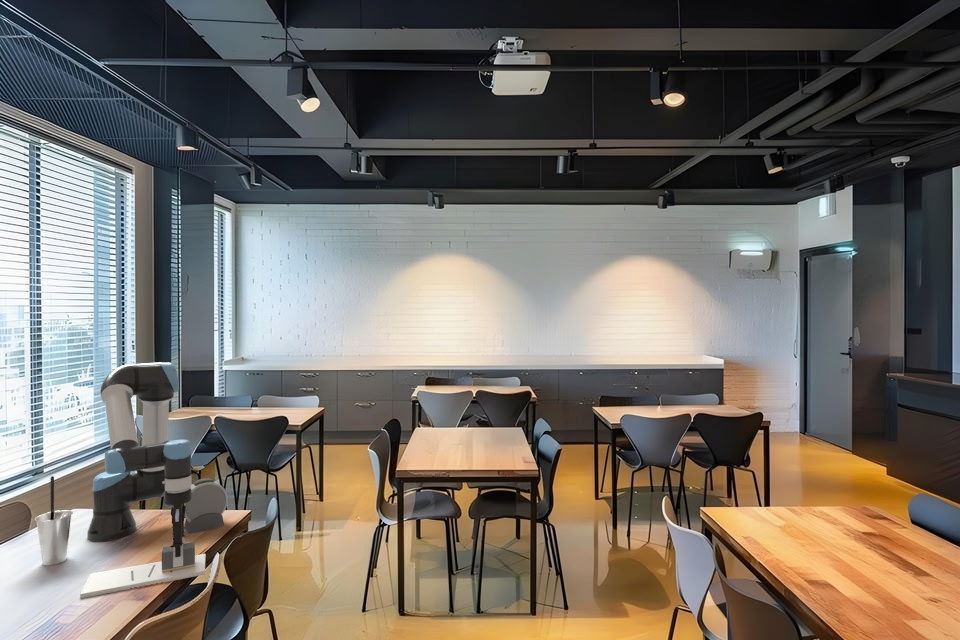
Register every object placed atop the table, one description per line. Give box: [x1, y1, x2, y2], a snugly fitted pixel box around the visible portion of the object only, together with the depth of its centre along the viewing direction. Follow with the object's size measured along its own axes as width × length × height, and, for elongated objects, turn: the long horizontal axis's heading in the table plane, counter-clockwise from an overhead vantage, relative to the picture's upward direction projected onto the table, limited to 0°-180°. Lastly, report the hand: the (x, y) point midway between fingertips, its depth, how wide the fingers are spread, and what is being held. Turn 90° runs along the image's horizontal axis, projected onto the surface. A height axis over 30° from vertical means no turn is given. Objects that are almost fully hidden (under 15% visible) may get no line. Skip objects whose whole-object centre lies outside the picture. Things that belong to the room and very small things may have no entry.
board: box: [79, 553, 207, 599], centre depth 169 cm, size 14×32×1 cm, turn 116°
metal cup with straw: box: [34, 476, 74, 566], centre depth 180 cm, size 11×11×30 cm
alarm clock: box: [184, 477, 229, 534], centre depth 210 cm, size 16×10×18 cm, turn 133°
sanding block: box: [161, 541, 196, 572], centre depth 173 cm, size 5×9×6 cm, turn 116°
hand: (178, 562), depth 173 cm, fingers closed on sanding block, 5 cm apart
